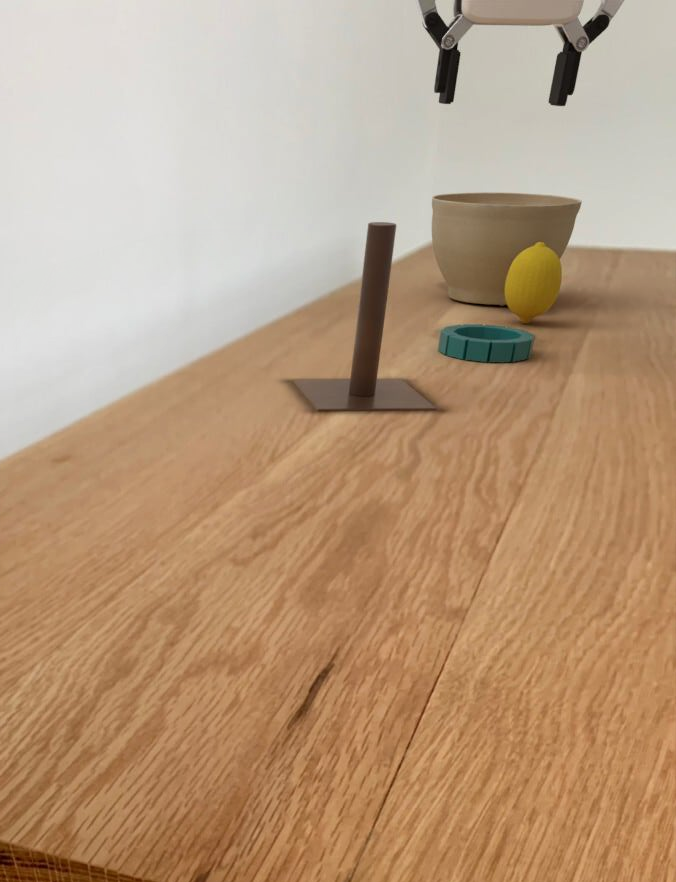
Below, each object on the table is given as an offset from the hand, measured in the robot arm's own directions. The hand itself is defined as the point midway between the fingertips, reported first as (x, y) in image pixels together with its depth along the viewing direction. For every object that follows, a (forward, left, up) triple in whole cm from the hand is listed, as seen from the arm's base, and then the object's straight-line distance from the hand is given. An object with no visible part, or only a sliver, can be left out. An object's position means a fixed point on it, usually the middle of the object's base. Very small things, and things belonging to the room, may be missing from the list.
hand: (500, 104), depth 97 cm
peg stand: (+16, +24, -21) cm, 35 cm away
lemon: (-11, -11, -21) cm, 26 cm away
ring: (-1, +3, -21) cm, 21 cm away
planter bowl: (-12, -25, -21) cm, 35 cm away
